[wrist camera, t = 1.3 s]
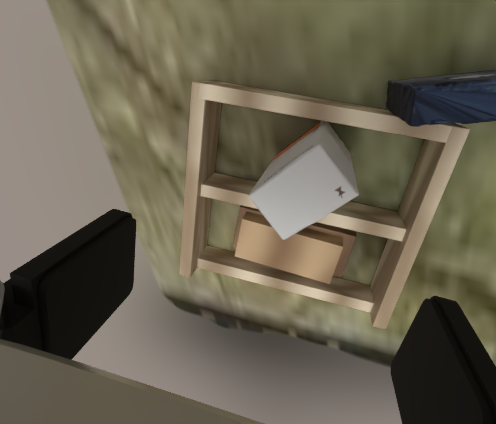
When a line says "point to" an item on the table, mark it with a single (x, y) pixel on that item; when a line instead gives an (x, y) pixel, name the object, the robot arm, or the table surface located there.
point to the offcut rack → (347, 216)
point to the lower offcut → (346, 234)
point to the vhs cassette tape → (444, 98)
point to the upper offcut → (289, 249)
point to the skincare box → (306, 181)
